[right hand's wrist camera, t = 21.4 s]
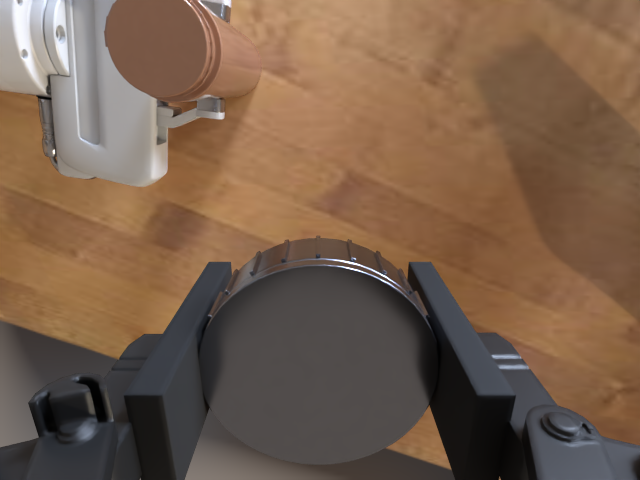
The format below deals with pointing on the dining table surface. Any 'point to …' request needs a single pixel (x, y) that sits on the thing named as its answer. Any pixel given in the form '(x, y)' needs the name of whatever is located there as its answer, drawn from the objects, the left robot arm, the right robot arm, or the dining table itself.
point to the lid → (318, 353)
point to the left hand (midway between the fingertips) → (226, 61)
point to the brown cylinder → (180, 51)
